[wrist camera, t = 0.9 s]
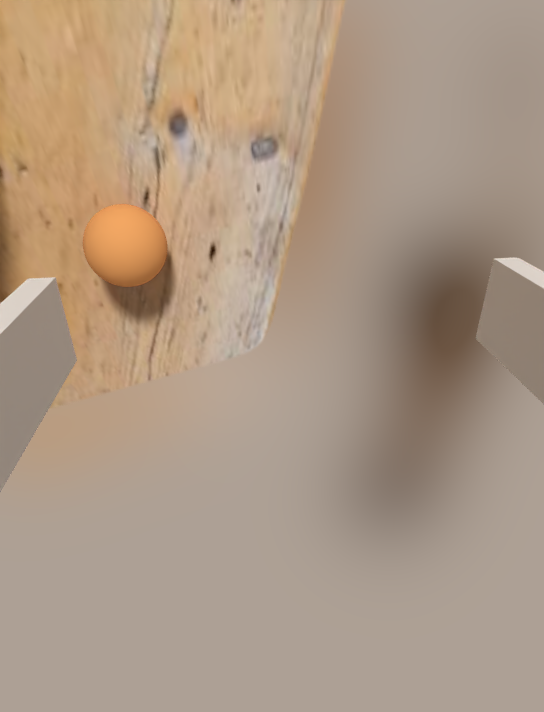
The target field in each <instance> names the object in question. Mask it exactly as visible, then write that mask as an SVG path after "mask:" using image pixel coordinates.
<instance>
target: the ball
mask: <svg viewBox="0 0 544 712" xmlns="http://www.w3.org/2000/svg"><path fill="white" fill-rule="evenodd" d="M83 249H84V253H85V257H86V259H87V262H88V263H89V265H90V267H91V268H92V269H93V271H94V272H95V273H96V274H97V275H98V276H100V277H101V278H102V279H104V280H105V281H107V282H109V283H111V284H114V285H117V286H123V287H133V286H139V285H142V284H145V283H147V282H149V281H150V280H151V279H153V278H154V277H155V276H156V275H157V274H158V273H159V272H160V271H161V269H162V267H163V265H164V263H165V261H166V257H167V240H166V236H165V233H164V231H163V229H162V227H161V225H160V224H159V223H158V221H157V220H156V219H155V218H154V217H153V216H152V215H151V214H149V213H148V212H147V211H145V210H143V209H141V208H139V207H136V206H133V205H128V204H117V205H112V206H108V207H106V208H104V209H102V210H100V211H99V212H98V213H96V214H95V215H94V216H93V217H92V218H91V220H90V221H89V223H88V224H87V226H86V229H85V232H84V237H83Z"/></svg>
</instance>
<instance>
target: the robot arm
mask: <svg viewBox="0 0 544 712" xmlns="http://www.w3.org/2000/svg"><path fill="white" fill-rule="evenodd" d="M476 339H477V340H478V341H479V342H480V343H481V344H482V345H483V346H484V347H485V348H486V349H487V350H488V351H489V352H490V353H491V354H492V355H493V356H494V357H495V358H497V360H499V361H500V362H501V363H502V364H503V365H504V366H505V367H506V368H507V369H508V370H509V371H510V372H511V373H512V374H513V375H514V376H515V377H516V378H517V379H518V380H519V381H520V382H521V383H522V384H523V385H524V386H525V387H527V389H529V390H530V391H531V392H532V393H533V394H534V395H535V396H536V397H537V398H538V399H539V400H540V401H541V402H542V403H543V404H544V272H543V271H541V270H540V269H538V268H536V267H534V266H532V265H530V264H528V263H527V262H525V261H523V260H521V259H519V258H497V259H494V260H493V265H492V269H491V273H490V278H489V282H488V286H487V291H486V295H485V300H484V305H483V309H482V313H481V317H480V322H479V326H478V331H477V336H476ZM76 361H77V359H76V355H75V351H74V347H73V343H72V339H71V336H70V332H69V328H68V324H67V320H66V316H65V312H64V309H63V305H62V301H61V297H60V293H59V289H58V286H57V282H56V278H31V279H27V280H26V281H25V282H24V283H23V284H22V285H20V286H19V287H18V288H17V289H16V290H15V291H14V292H13V293H11V294H10V295H9V296H8V297H7V298H6V299H5V300H4V301H3V302H1V303H0V492H1V490H2V488H3V486H4V485H5V483H6V481H7V480H8V478H9V476H10V474H11V473H12V471H13V469H14V468H15V466H16V464H17V462H18V461H19V459H20V457H21V456H22V454H23V452H24V450H25V449H26V447H27V445H28V443H29V442H30V440H31V438H32V437H33V435H34V433H35V431H36V430H37V428H38V426H39V424H40V423H41V421H42V419H43V418H44V416H45V414H46V412H47V411H48V409H49V407H50V406H51V404H52V402H53V400H54V399H55V397H56V395H57V394H58V392H59V390H60V388H61V387H62V385H63V383H64V382H65V380H66V378H67V376H68V375H69V373H70V371H71V369H72V368H73V366H74V364H75V363H76Z"/></svg>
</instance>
